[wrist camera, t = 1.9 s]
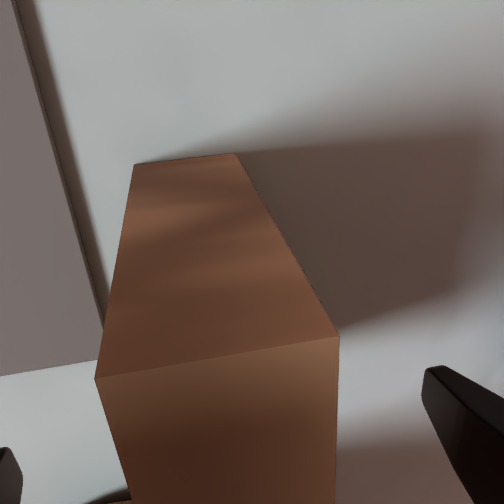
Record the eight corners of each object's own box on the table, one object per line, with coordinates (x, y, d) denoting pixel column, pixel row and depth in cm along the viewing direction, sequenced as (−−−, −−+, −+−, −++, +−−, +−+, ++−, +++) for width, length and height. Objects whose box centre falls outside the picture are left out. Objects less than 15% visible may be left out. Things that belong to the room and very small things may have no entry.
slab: (236, 152, 13) (343, 334, 6) (253, 356, 17) (332, 638, 9) (133, 164, 13) (94, 379, 5) (174, 370, 17) (187, 676, 9)
